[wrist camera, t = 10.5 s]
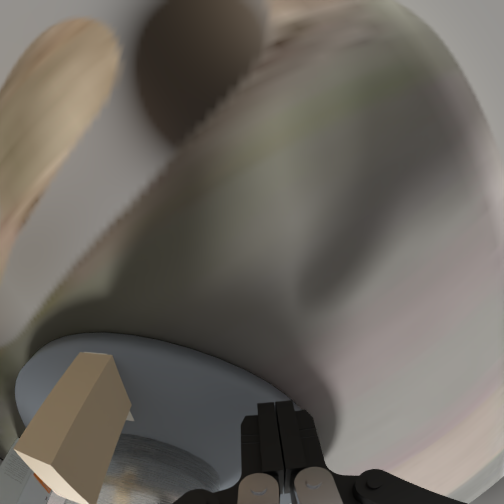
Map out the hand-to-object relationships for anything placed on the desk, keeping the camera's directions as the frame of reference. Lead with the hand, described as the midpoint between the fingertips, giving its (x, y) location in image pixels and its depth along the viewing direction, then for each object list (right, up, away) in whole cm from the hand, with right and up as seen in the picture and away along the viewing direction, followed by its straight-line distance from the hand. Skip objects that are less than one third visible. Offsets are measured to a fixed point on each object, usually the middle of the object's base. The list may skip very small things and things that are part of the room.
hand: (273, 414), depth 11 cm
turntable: (-8, -9, +6) cm, 13 cm away
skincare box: (-26, -17, +8) cm, 32 cm away
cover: (-8, -9, +4) cm, 13 cm away
